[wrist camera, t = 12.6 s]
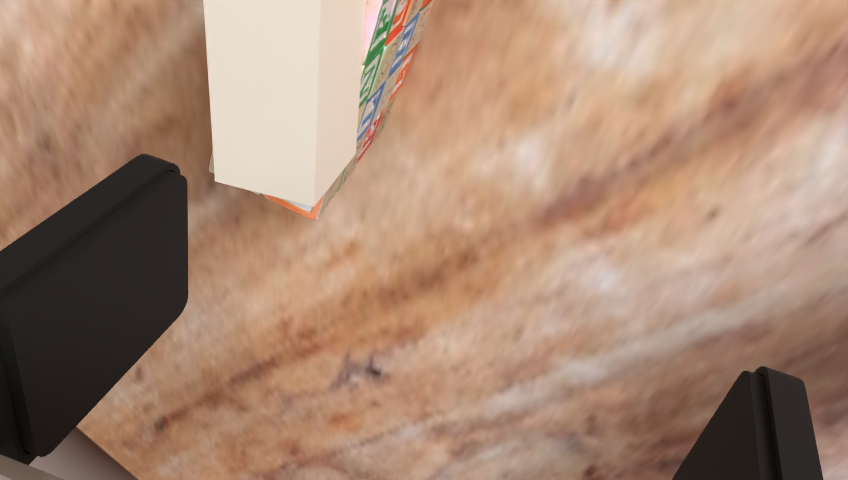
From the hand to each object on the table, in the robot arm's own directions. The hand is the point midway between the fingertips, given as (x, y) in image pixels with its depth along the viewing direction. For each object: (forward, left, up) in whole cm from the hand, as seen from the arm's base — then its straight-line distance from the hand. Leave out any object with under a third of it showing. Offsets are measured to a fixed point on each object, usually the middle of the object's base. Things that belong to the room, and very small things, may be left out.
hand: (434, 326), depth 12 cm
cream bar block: (+10, +5, -20) cm, 22 cm away
